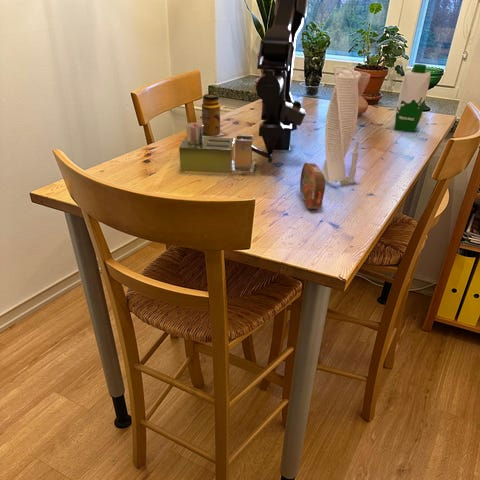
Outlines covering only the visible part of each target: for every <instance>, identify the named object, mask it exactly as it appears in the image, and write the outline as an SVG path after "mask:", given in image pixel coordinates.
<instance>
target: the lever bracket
mask: <svg viewBox="0 0 480 480" xmlns="http://www.w3.org/2000/svg"><path fill="white" fill-rule="evenodd" d="M241 137H243V138H245V139H241ZM253 137H254V136H253V135H252V134H236V138H235V148H234V163H233V167H232V172H231V173H237V174H238V173H239V174H254V170H255V164H256V162H255V161H253V151H252V146H253V140H254V138H253Z"/></svg>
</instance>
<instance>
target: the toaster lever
mask: <svg viewBox="0 0 480 480" xmlns="http://www.w3.org/2000/svg"><path fill="white" fill-rule="evenodd" d="M241 139H245V138H243V137H241ZM253 152H254V153H256V154H258V155H260V156H262V157H264V158H266V159H267V161H266V162H268V163H270V164H272V162H273V159H274V158H273V157H274V152H273V153H272V155H268V152H267V151H265V150H262V149H260V148H258V147H256V146H254V145H252V153H253Z"/></svg>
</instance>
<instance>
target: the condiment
mask: <svg viewBox="0 0 480 480" xmlns="http://www.w3.org/2000/svg"><path fill="white" fill-rule="evenodd" d="M201 124H202V125H203V137H220V136H226V134H225V133H223V132H221V104H220V96H219V95H218V94H217V93H205V94H203V95H202V104H201Z"/></svg>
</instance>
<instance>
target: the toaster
mask: <svg viewBox="0 0 480 480" xmlns="http://www.w3.org/2000/svg"><path fill="white" fill-rule="evenodd" d="M209 139H215V140H230V142H224V141H208V140H209ZM235 139H236V137H235V138H234V137H216V136H214V137H203V143H201V144H189V143H187V135H185V136H184V138H183V140H178V141H179V142H181V143H180V145H179V147H178V149H179V168H180V172H192V173H210V174H211V173H212V174H213V173H214V174H231V175H232V173H233V172H232V167H233V163H234V161H235ZM207 144H214V145H229V147H222V146H206V145H207Z"/></svg>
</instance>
